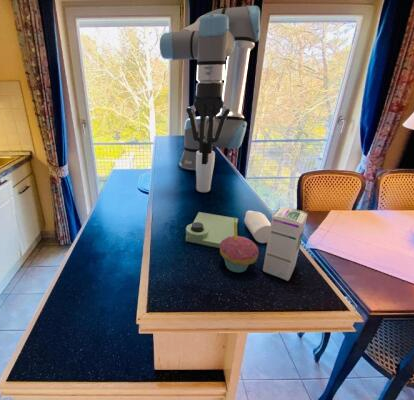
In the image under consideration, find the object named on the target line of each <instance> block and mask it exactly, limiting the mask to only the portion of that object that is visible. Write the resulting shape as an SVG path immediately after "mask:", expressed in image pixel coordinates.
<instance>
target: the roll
mask: <svg viewBox="0 0 414 400" xmlns="http://www.w3.org/2000/svg"><path fill="white" fill-rule="evenodd" d="M243 222H244V223H243V224H244V225H245V226H246V228H247V229H248V231H249V232H250V234H251V236H252V237H253V238H254V240H255V241H256V242H258V243H260V244H267V242H268V237H269V232H270V226H271V222H270V221H269V219H268V217H267V216H266V215H265V214H264V213H263V212H260V211H254V210H246V212H245V216H244V219H243Z"/></svg>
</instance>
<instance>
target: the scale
mask: <svg viewBox="0 0 414 400" xmlns="http://www.w3.org/2000/svg"><path fill="white" fill-rule="evenodd" d="M234 218H235V219H234ZM235 220H236V221H237V224H238V223H239V218H237V217H231V216H224V215H219V214H212V213H207V212H201V211H198V213H197V214H196V216H195V219H194V220H193V222H192V223H190V224H187V226H186V228H185V234H186V235H185V238H184V239H185V240H184V241H185V242H188V243H193V244H198V245H203V246H207V247H213V248H217V249H220V247H219V245H220V243H221V242H222V240H224V239H225V238H227V237H231V236H234V221H235ZM195 222H199V223H202V224H203V231H202V232H193V231H192V224H193V223H195Z"/></svg>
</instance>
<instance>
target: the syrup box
mask: <svg viewBox="0 0 414 400" xmlns="http://www.w3.org/2000/svg"><path fill="white" fill-rule="evenodd" d="M307 219H308V212H306V211H303V210H300V209H297V208H292V207H287V206H286V207H285V206H281V205H280V206H279V207H278V209H277V210H276V211H275V212H274V213H273V215H272V216H271V222H270V223H271V226H270V232H269V237H268V242H267V243H266V249H265V255H264V259H263V265H262V272H264V273H266V274H268V275H271V276H274V277H277V278H279V279H282V280H285V281H287V282H289V280H290V279H291V277H292V274H293V273H294V271H295V267H296V265H297V260H298V256H299V252H300V248H301V244H302V239H303V235H304V231H305V227H306V223H307Z"/></svg>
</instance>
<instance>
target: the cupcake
mask: <svg viewBox="0 0 414 400" xmlns="http://www.w3.org/2000/svg"><path fill="white" fill-rule="evenodd" d="M233 218H234V219H235V218H236V217H233ZM219 247H220V248H219V254H220V256H222V258H223V260H224V264H225V267H226V269H228V270H229V271H230V272H232V273H244V272H245V271H246V270H247V269H248V267H249V266H250V265H253V264H254V263H256V261H257V260H258V258H259V247H258V245H257V244H256V243H255V242H254V241H253V240H251V239H249V237H248V238H247V237H245V236H241V235H238V223H237V221H236V220H235V221H234V236H231V237H227V238H225V239H224V240H222V242H221V243H220V245H219Z"/></svg>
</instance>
